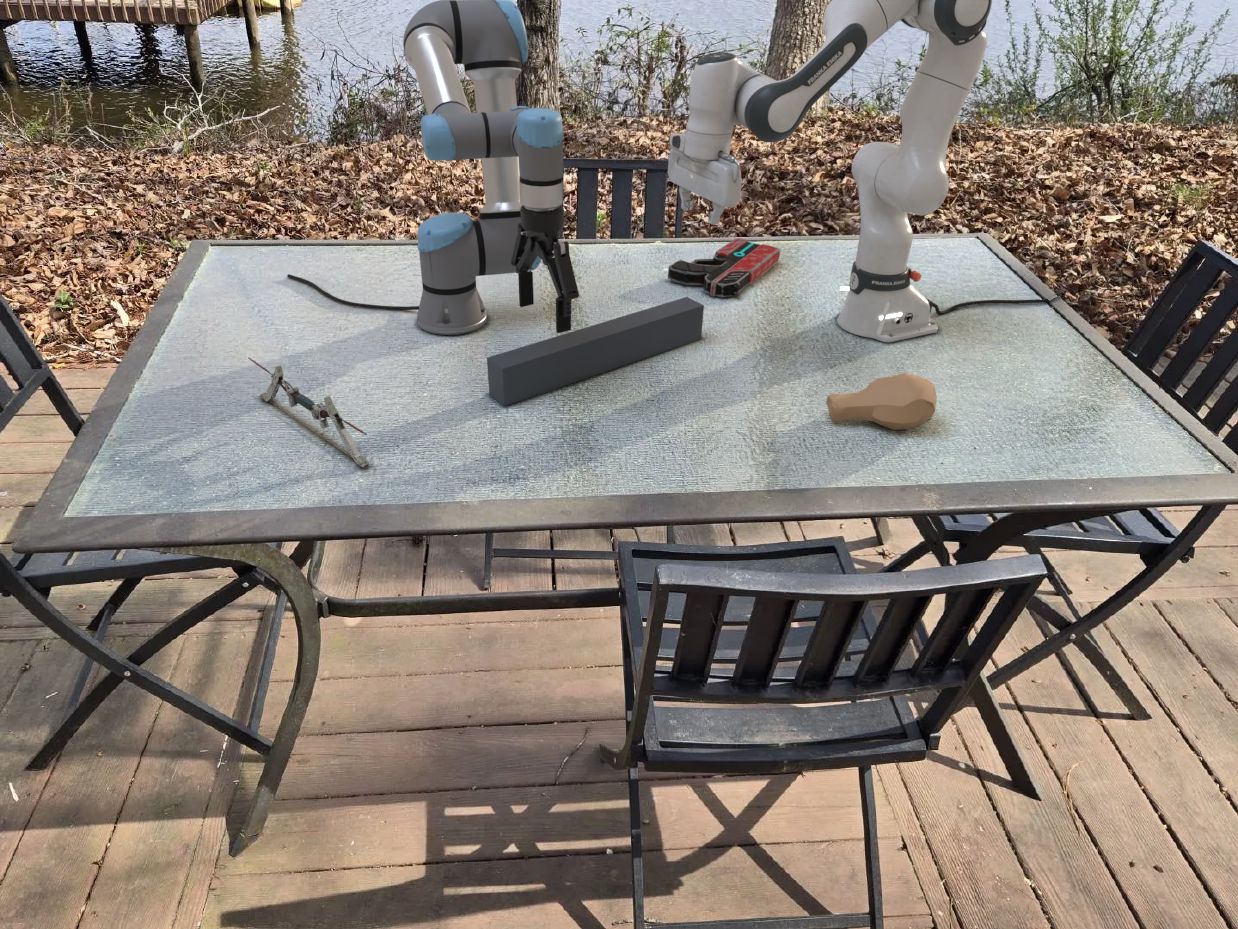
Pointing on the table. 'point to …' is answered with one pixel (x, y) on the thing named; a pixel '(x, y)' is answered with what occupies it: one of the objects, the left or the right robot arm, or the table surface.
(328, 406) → the bow
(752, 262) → the gun
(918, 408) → the squash
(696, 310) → the beam
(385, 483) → the table surface
